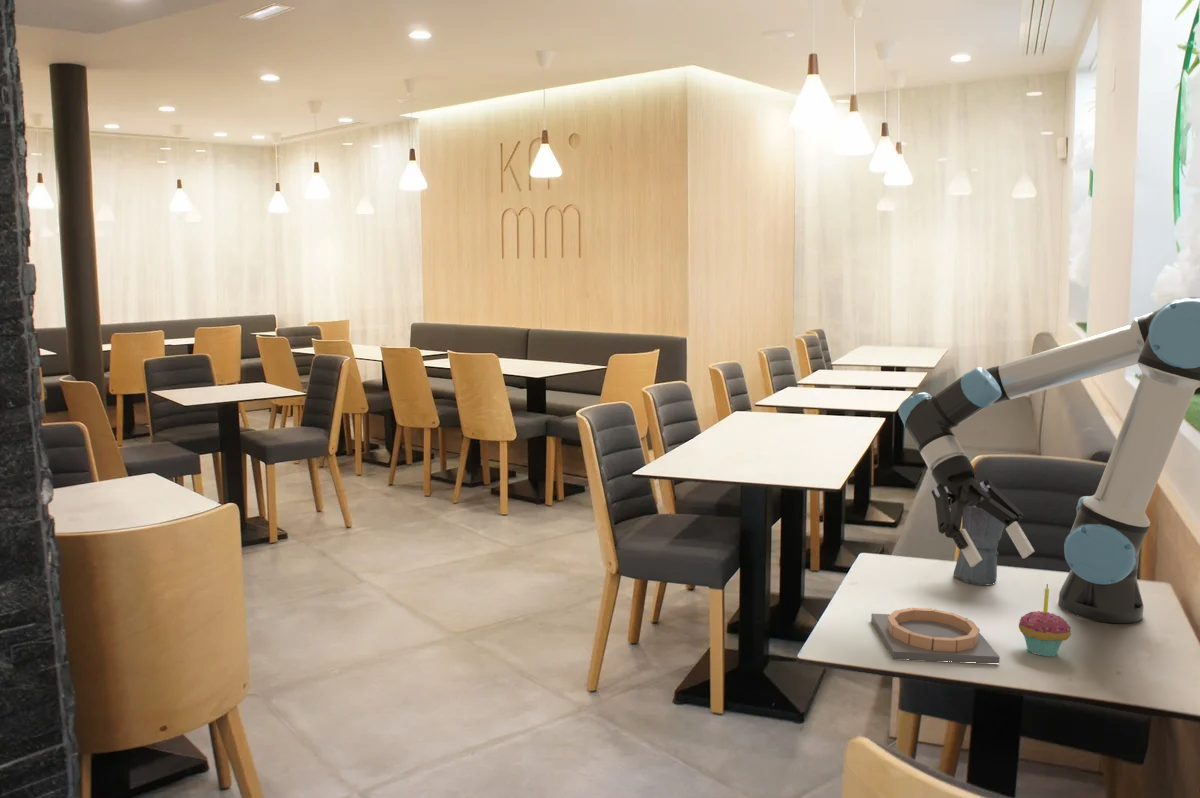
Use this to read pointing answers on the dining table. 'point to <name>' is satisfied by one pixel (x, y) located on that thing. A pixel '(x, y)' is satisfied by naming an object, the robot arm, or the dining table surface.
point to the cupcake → (1044, 630)
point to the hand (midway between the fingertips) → (1003, 559)
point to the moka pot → (980, 546)
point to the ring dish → (932, 636)
